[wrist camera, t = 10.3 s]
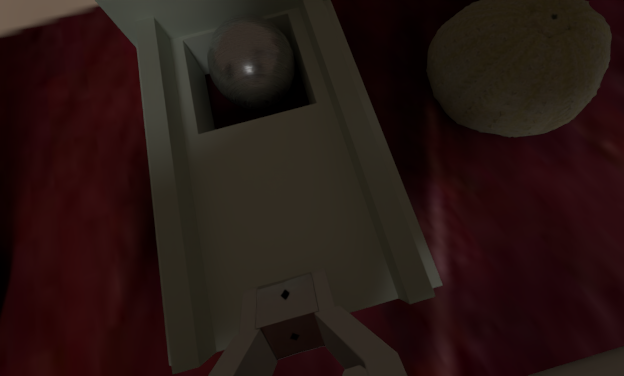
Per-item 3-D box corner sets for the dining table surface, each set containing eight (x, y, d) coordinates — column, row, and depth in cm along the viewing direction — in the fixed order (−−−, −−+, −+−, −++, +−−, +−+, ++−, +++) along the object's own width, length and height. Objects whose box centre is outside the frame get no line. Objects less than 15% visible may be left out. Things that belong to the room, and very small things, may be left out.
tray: (417, 279, 14) (485, 294, 8) (202, 343, 14) (111, 405, 8) (325, 29, 19) (326, -73, 13) (164, 70, 18) (92, -17, 13)
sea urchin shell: (399, 19, 17) (565, -120, 11) (445, 68, 22) (571, -10, 16) (439, 147, 14) (680, 48, 9) (480, 167, 19) (644, 114, 14)
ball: (303, 13, 15) (318, 91, 15) (263, 61, 19) (274, 125, 18) (219, -28, 12) (234, 71, 11) (191, 40, 16) (201, 117, 15)
